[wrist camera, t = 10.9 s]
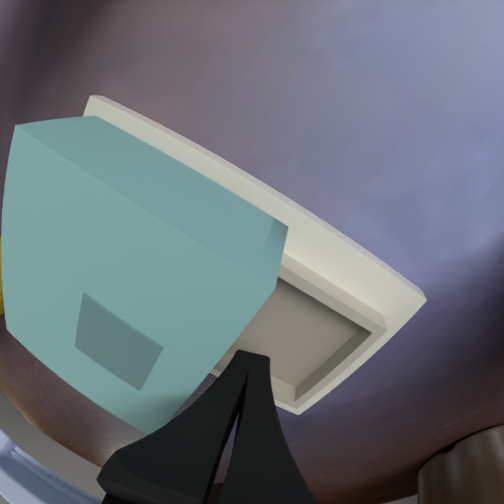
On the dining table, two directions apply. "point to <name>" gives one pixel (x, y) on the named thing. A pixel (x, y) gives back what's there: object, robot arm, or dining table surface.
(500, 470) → the plant pot
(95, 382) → the cover
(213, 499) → the coffee mug
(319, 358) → the board
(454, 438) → the dining table surface
